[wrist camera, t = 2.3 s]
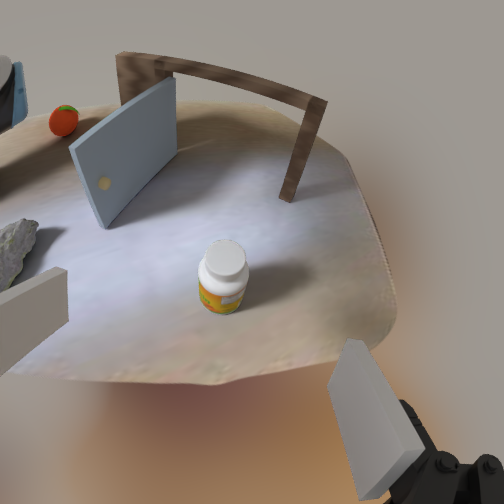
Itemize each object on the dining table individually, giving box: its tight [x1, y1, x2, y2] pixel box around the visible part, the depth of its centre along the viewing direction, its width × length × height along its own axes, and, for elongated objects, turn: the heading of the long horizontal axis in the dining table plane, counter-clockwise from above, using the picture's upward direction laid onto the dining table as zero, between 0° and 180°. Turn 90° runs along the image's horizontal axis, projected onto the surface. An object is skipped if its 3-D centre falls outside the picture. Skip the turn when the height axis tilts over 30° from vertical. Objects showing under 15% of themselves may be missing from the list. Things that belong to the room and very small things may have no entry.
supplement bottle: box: [198, 240, 249, 315], centre depth 32 cm, size 5×5×10 cm
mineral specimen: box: [0, 218, 39, 293], centre depth 30 cm, size 16×7×7 cm, turn 157°
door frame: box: [116, 51, 328, 203], centre depth 40 cm, size 34×2×18 cm, turn 65°
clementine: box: [49, 105, 80, 136], centre depth 46 cm, size 8×7×7 cm
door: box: [69, 77, 177, 229], centre depth 36 cm, size 19×3×15 cm, turn 155°
